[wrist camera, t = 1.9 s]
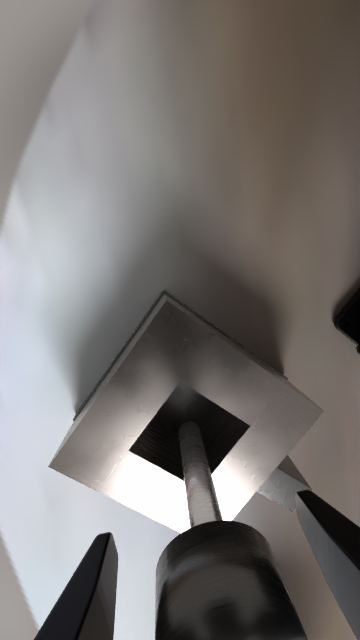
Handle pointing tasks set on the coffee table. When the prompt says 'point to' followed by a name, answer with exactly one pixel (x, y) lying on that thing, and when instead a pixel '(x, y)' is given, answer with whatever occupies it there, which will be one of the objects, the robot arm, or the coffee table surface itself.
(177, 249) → the coffee table surface
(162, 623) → the plunger
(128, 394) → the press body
